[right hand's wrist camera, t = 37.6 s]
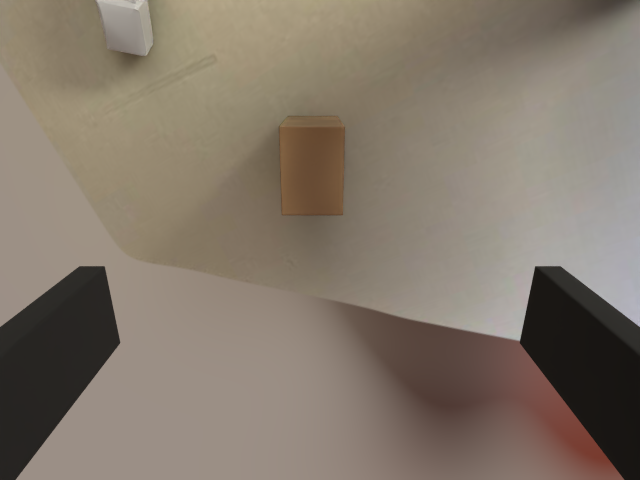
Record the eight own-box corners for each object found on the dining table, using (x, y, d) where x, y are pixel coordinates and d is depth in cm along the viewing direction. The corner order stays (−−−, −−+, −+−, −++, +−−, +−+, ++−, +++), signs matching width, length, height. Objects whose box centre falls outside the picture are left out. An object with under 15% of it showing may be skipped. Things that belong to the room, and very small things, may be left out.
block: (289, 185, 43) (281, 215, 33) (287, 115, 41) (278, 126, 31) (336, 185, 43) (342, 215, 33) (337, 116, 41) (344, 126, 31)
